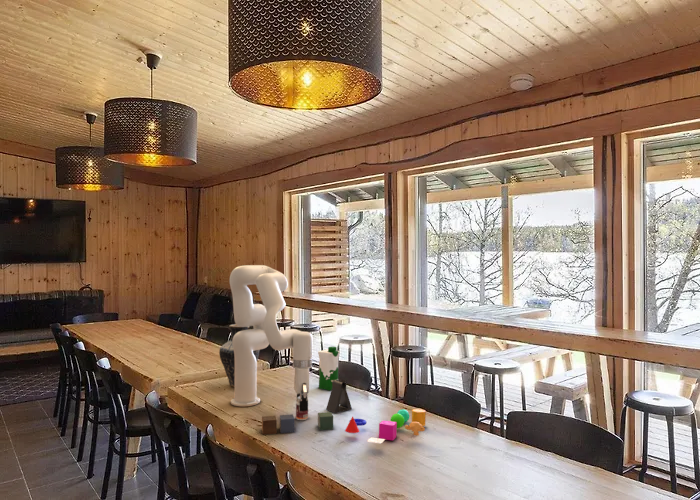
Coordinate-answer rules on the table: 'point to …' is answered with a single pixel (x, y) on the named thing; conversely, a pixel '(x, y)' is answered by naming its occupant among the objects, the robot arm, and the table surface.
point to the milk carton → (328, 367)
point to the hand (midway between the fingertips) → (302, 407)
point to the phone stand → (338, 398)
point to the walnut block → (269, 425)
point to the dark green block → (325, 421)
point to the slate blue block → (287, 423)
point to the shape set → (392, 425)
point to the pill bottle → (300, 414)
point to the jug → (232, 354)
